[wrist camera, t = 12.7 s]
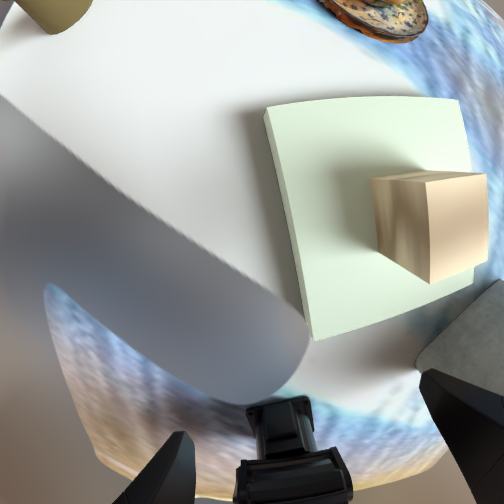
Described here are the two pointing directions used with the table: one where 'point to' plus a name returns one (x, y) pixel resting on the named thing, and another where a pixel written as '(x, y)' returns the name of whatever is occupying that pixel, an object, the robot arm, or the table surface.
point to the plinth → (357, 199)
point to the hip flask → (472, 343)
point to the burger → (382, 17)
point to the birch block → (432, 221)
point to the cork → (55, 12)
